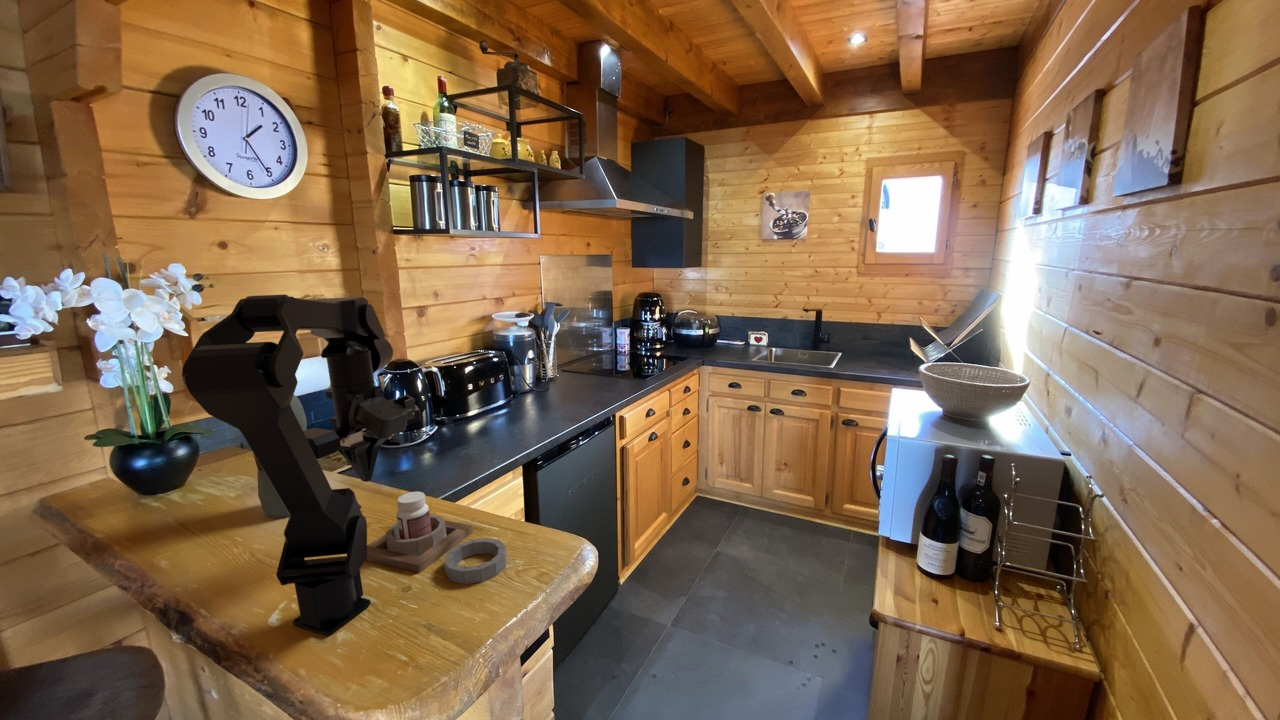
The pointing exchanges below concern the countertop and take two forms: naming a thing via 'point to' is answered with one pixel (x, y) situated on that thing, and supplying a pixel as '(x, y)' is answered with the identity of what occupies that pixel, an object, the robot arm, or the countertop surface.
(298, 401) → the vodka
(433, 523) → the socket board
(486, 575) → the holder
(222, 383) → the robot arm
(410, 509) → the pill bottle
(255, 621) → the countertop surface
